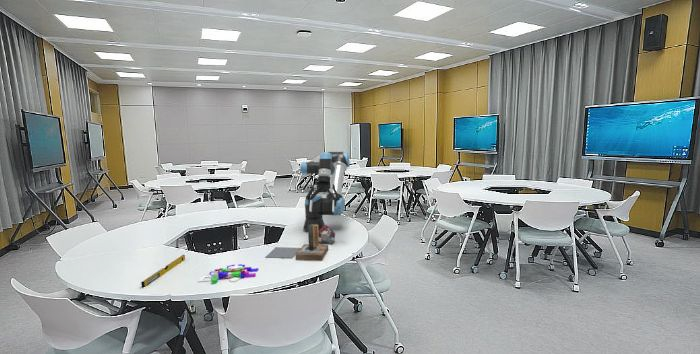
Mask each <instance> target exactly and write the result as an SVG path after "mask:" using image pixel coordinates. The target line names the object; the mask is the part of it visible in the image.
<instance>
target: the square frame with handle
mask: <svg viewBox="0 0 700 354" xmlns="http://www.w3.org/2000/svg"><path fill="white" fill-rule="evenodd" d="M311 225H313V224H311ZM313 245H314V249H315V250H307V249H309V245H305V246H304V248H303V249H302V250H301V254H318V253H319V251H320V250H321V246H319V230H318V225H313Z"/></svg>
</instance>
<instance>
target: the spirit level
mask: <svg viewBox="0 0 700 354" xmlns="http://www.w3.org/2000/svg"><path fill="white" fill-rule="evenodd" d="M185 260H186V255H185V254H182V255H181V256H179V257H177V258H176V259H174V260H173V261H171V262H170V263H168V264H167V265H165V267H163V268H161V269H159V270H157V272H155V273H153V274H152V275H150V276H149V277H147V278H146V279H144V280H142V281H141V282H140V283H141V284H140V285H141V288H142V287H145V288H146V287H147V286H149V285H151V284H152V283H154V282H155V281H156V280H158V279H159V278H161V277H162V276H164V275H165V274H166V273H168V272H170V271H172V269H174V268H175V267H176V266H178V265H179V264H181V263H182V262H184V261H185Z"/></svg>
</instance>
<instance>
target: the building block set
mask: <svg viewBox="0 0 700 354" xmlns="http://www.w3.org/2000/svg"><path fill="white" fill-rule="evenodd" d="M256 272H259V268H258V267H256V268H252V266H246V264H241V263H240V264H231V265H226V268H221V267H220V268H216V269H214V271H210V272H209V273H208V274H209V275H205V276H204V275H202V276H200V278H199V279H198V281H197V282H198V283H208V282H211V284H212V285H216V284H217V283H218V281H219V280H227V279H228V281H229V282H231V283H236V282H239V281H240V280H241V279H245V278H256V275H257V274H256Z"/></svg>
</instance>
